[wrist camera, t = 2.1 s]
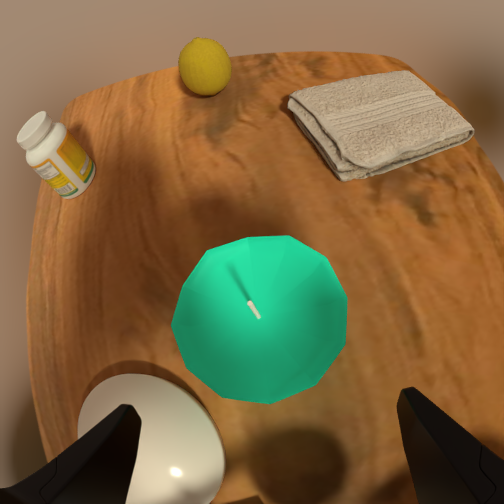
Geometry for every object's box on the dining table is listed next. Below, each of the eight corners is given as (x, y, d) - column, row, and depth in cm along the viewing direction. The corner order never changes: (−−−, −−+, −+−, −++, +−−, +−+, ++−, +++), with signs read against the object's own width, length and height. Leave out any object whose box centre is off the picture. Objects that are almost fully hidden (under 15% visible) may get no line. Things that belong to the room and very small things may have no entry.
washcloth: (280, 112, 28) (278, 89, 25) (405, 80, 29) (409, 61, 26) (343, 196, 23) (347, 172, 20) (470, 143, 24) (480, 124, 21)
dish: (254, 500, 15) (251, 505, 14) (120, 519, 14) (113, 523, 13) (186, 352, 20) (181, 350, 19) (68, 393, 19) (61, 393, 18)
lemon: (181, 102, 31) (159, 48, 24) (213, 78, 32) (197, 25, 25) (214, 114, 29) (194, 53, 22) (247, 88, 30) (234, 29, 23)
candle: (334, 317, 19) (380, 241, 8) (302, 401, 17) (312, 442, 6) (253, 289, 21) (203, 190, 10) (219, 368, 19) (122, 354, 8)
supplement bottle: (69, 208, 27) (13, 156, 18) (56, 186, 29) (9, 137, 20) (104, 174, 28) (55, 113, 19) (88, 155, 30) (46, 101, 21)
